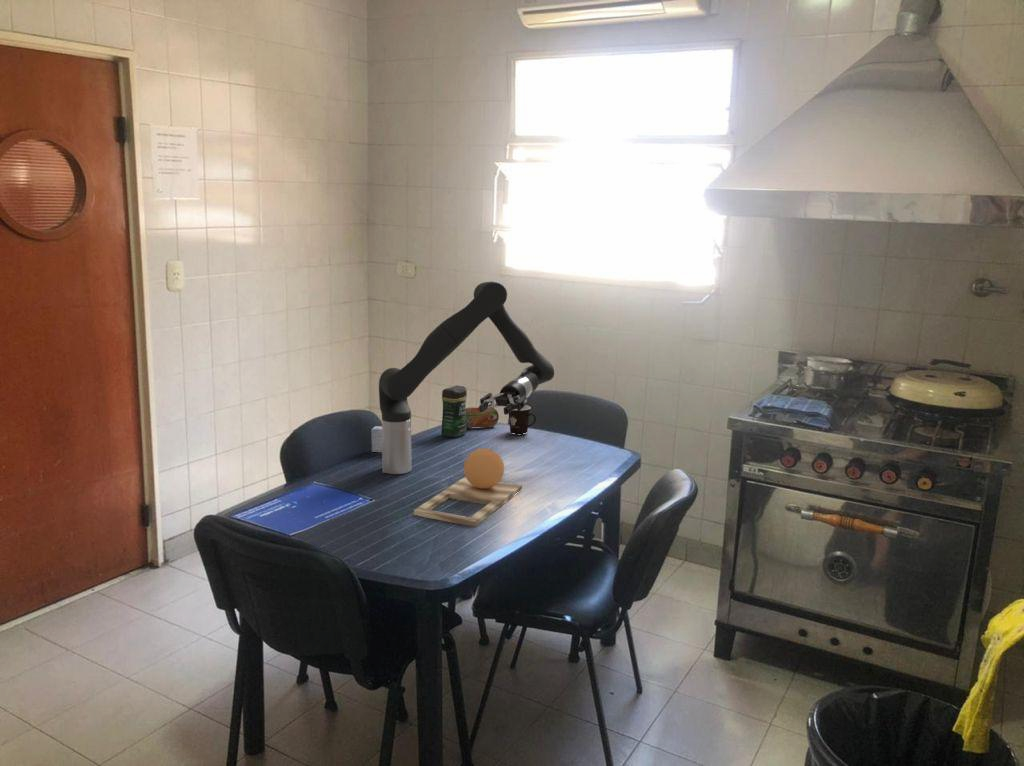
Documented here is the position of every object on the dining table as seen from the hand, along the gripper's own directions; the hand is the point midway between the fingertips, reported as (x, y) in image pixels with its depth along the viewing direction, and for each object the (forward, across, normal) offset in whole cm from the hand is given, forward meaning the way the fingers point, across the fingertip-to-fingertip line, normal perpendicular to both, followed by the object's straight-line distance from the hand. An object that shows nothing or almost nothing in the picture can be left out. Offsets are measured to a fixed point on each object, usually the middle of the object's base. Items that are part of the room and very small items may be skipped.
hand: (492, 410), depth 246 cm
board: (+22, +2, +20) cm, 29 cm away
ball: (+11, +1, +14) cm, 18 cm away
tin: (-48, -37, +30) cm, 68 cm away
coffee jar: (-35, -40, +28) cm, 59 cm away
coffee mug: (-48, -19, +32) cm, 61 cm away
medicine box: (-5, -49, +22) cm, 54 cm away
